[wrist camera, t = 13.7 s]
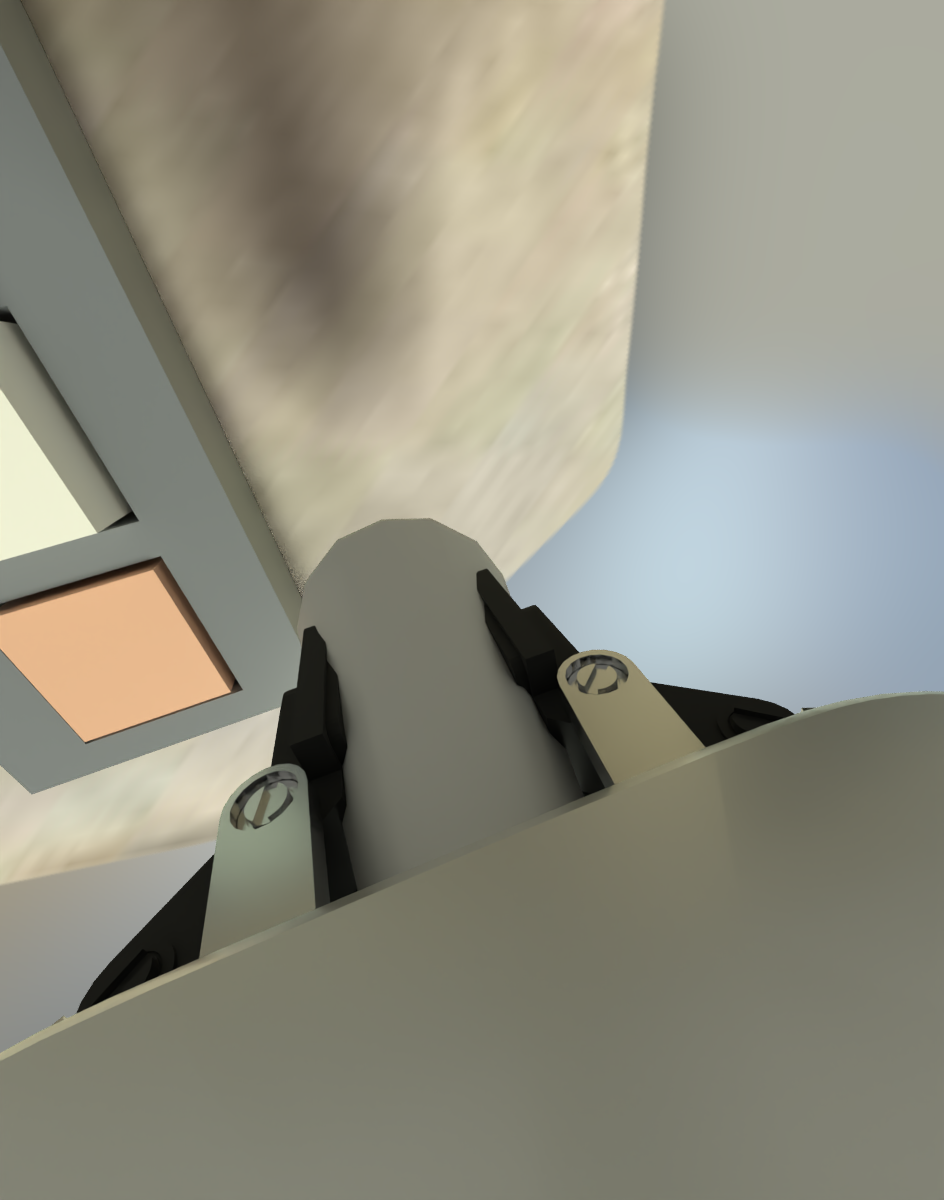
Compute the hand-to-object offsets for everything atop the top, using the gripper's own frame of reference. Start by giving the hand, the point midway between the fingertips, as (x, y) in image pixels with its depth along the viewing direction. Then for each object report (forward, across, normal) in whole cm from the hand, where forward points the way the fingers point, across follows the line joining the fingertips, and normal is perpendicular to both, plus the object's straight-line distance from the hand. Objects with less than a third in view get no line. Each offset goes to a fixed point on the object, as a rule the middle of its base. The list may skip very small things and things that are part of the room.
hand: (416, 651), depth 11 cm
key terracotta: (+11, +11, +1) cm, 15 cm away
